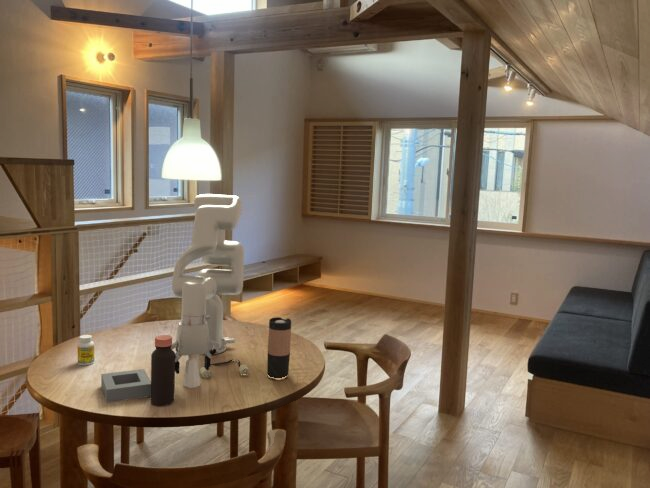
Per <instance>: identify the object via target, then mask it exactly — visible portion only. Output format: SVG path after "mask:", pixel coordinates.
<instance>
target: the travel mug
mask: <svg viewBox="0 0 650 488" xmlns="http://www.w3.org/2000/svg"><path fill="white" fill-rule="evenodd" d="M268 322H269V323H268V339H267V340H268V341H267V367H266V368H267V372H266V375H267V374H268V375H269V376H270V377H274V378H282V377H285V376H287V375H288V376H289V371H290V370H289V367H290V356H291V339H292V338H291V337H292V335H291V334H292V333H291V332H292V320H291V319H290V318H286V319H284V318H282V317H277V316H276V317H271V318H270V319H269V321H268Z"/></svg>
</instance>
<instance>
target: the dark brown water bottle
mask: <svg viewBox="0 0 650 488" xmlns="http://www.w3.org/2000/svg"><path fill="white" fill-rule="evenodd" d="M172 344H173V336H172V335H168V334H160V335H157V336H155V337H154V347H155V349H154V351H152V353H150V354H151V355H150V361H151V362H150V366H151V367H150V381H151V396H150V403H151V404H152V405H154V406H156V407H163V406H164V407H165V406H170V405H172V403H173V402H175V387H176V386H175V384H176V383H175V381H176V378H175V377H176V376H175V374H176V372H175V353H176V351H175V350H174V349H171V346H172Z"/></svg>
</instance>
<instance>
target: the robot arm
mask: <svg viewBox="0 0 650 488" xmlns="http://www.w3.org/2000/svg"><path fill="white" fill-rule="evenodd" d="M193 205H194V209H195V216H194V222H193V229H192V235H191V236H192V237H191V244H190V246H189V247H188V248H187V249H185V251H184V252H183V253H182V254H181V255H180V256H179V258H178V259H177V260H176V263H175V264H174V265H175V266H174V269H173V274H172V281H171V282H172V283H171V292H172V294H173V296H174V297H176V298H180V299H181V321H180V322H179V323H178V324H177V328H176V335H175V336H176V337H175V342H172V346H171V349H172V350H174V349H175V350H174V351H175V374H176V375H179V374H180V365H181V363H180V359H181V358H182V356H184V357H185V356H188V355H196V354H197V355H205V356H204V361H203V362H204V363H203V364H204V365H203V367H204V368H205V369H206V370H210V368H211V364H212V363H211V362H212V361H211V360H212V358H213V356H214V355H217V354H222V353H223V352H225V351H226V350H227V346H226V345H227V344H229V345H230V344H235V338H233V337H232V338H230V337H224V336H223V328H224V326H223V325H224V303H223V301H222V299H221V298H220V296H219V295H229V296H235V295H239V294H241V293H242V291H243V287H244V271H245V270H244V268H245V267H244V265H245V249H244V245H243V244H242V243H241V242H239V241H235V240H226V231H233V230H235V229H236V228H237V226H238V223H239V222H240V221H239V220H240V217H241V214H242V211H243V202H242V200H241V198H240V197H239V196H237V195H231V194H230V195H229V194H228V195H227V194H215V193H214V194H213V193H205V194H204V193H203V194H202V193H201V194H199V195H196V196H195V198H194V202H193ZM200 258H201V261H202V262H203V263H204V264H205V265H209V266H220V267H221V266H222V267H230V269H224V268H223V269H222V268H204V269H201V270H199V271H198V272H197V274H196V275H189V274H187V275H185V274H184V271H185V269H186V268H187V266H188V265H189V264H191V263H192V262H193V261H195V260H198V259H200Z"/></svg>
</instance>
